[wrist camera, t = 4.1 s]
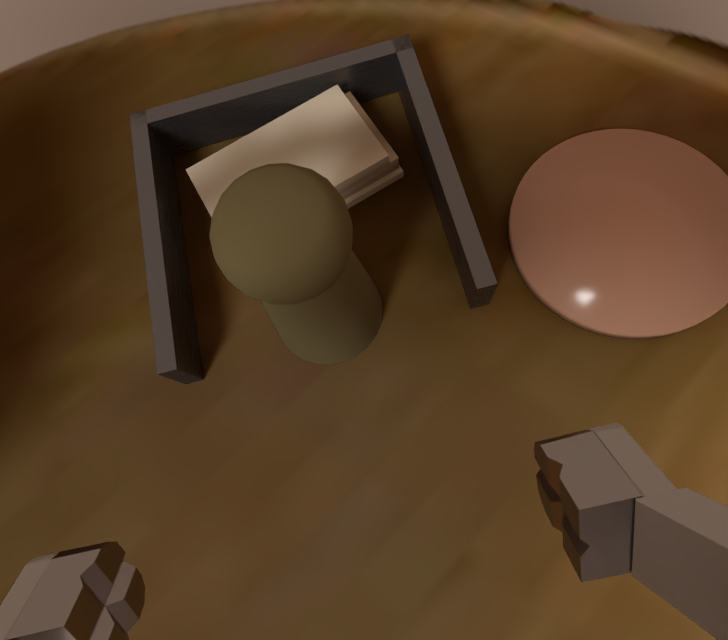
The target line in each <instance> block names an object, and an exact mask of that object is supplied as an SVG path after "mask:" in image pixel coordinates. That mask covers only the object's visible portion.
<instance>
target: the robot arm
mask: <svg viewBox="0 0 728 640" xmlns="http://www.w3.org/2000/svg"><path fill="white" fill-rule="evenodd" d="M534 455H535V459H536V461H537V463H538V465H539V467H540V468H541V469H540V470H539V472H538V473H537V475H536V477H537V485H538V490H539V494H540V498H541V501H542V504H543V507H544V509H545V512H546V514H547V516H548V518H549V520H550V522H551V524H552V526H553V527H555V528H556V529H558V530H560V531H561V532H562V534H563V548H564V550H565V552H566V554H567V555H568V557H569V559H570V561H571V563H572V565H573V567H574V569H575V571H576V573H577V575H578V577H579V578H580V580H581V582H585V581H591V580H596V579H601V578H607V577H612V576H617V575H622V574H628V573H632V576H633V577H634V578H636V579H637V580H639V581H640V582H641V583H643V584H644V585H645V586H647V587H648V588H649V589H651V590H652V591H653V592H655V593H656V594H657V595H659V596H660V597H661V598H663V599H664V600H665V601H667V602H668V603H669V604H671V605H672V606H673V607H675V608H676V609H677V610H679V611H680V612H681V613H683V614H684V615H685V616H687V617H688V618H689V619H691V620H692V621H693V622H695V623H696V624H697V625H699V626H700V627H701V628H703V629H704V630H705V631H707V632H708V633H709V634H711V635H712V636H713V637H715V638H716V639H717V640H728V506H726V505H724V504H721V503H719V502H717V501H715V500H713V499H710V498H708V497H706V496H704V495H702V494H700V493H697V492H695V491H693V490H691V489H689V488H682V489H677V488H676V487H675V486H674V485H673V483H672V482H671V481H670V480H669V479H668V478H667V477H666V475H665V474H664V473H663V472H662V471H661V470H660V469H659V467H658V466H657V465H656V464H655V463H654V462H653V461H652V459H651V458H650V457H649V456H648V455H647V454H646V453H645V451H644V450H643V449H642V448H641V447H640V446H639V444H638V443H637V442H636V441H635V440H634V439H633V438H632V436H631V435H630V434H629V433H628V432H627V431H626V430H625V428H624V427H623V426H622V425H620V424H618V423H612V424H608V425H604V426H600V427H596V428H591V429H589V430H583V431H579V432H575V433H571V434H567V435H562V436H558V437H554V438H550V439H546V440H542V441H538V442H535V445H534ZM124 556H125V551H124V550H123V549H122V548H121V546H120V545H119V544H118V543H117V542H105V543H100V544H95V545H91V546H86V547H81V548H76V549H71V550H66V551H61V552H59V553H54V554H49V555H44V556H39V557H35V558H34V559H33V560H31V561H30V562H29V563H27V564H26V565H25V567H24V568H23V570H22V572H21V573H20V575H19V577H18V578H17V580H16V581H15V583H14V585H13V586H12V588H11V590H10V591H9V593H8V594H7V596H6V598H5V599H4V601H3V603H2V604H1V606H0V640H129V637H128V634H127V633H128V632H129V631H130V630H131V628H132V627H133V626H134V625H135V624H136V623H137V621H138V620H139V619H140V616H141V612H142V609H143V606H144V599H145V585H144V582H143V578H142V575H141V574H140V572H139V571H138V569H137V568H136V567H135V566H132V565H130V564H128V563H126V562H123V559H124Z"/></svg>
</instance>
